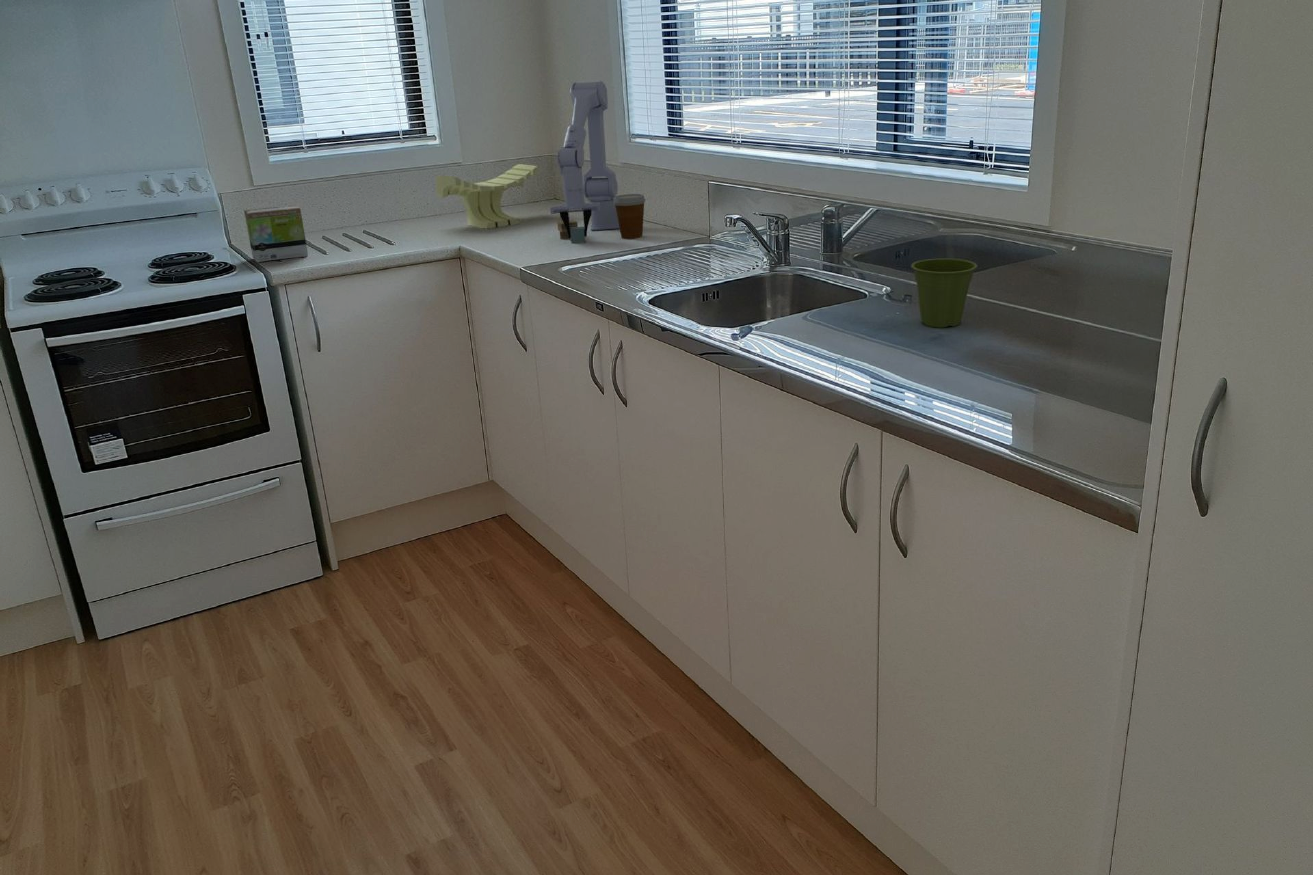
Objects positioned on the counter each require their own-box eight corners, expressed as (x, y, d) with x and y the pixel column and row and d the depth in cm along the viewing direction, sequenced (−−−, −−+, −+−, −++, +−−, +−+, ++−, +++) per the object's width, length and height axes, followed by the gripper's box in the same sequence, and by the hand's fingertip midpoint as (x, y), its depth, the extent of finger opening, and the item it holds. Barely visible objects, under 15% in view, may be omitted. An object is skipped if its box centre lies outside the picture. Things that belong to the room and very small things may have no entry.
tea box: (257, 263, 299) (246, 213, 294) (252, 258, 308) (242, 209, 302) (309, 256, 305) (300, 206, 300) (303, 251, 314) (294, 203, 308)
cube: (585, 240, 302) (583, 226, 301) (585, 242, 298) (583, 228, 297) (571, 241, 302) (570, 227, 301) (571, 243, 298) (570, 229, 297)
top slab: (573, 227, 311) (572, 219, 310) (578, 230, 306) (577, 221, 306) (557, 229, 309) (557, 221, 308) (562, 232, 305) (561, 223, 304)
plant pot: (911, 332, 188) (913, 272, 184) (907, 316, 199) (909, 259, 195) (977, 331, 186) (981, 270, 182) (970, 315, 197) (973, 257, 193)
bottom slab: (577, 236, 311) (576, 228, 310) (577, 239, 307) (576, 230, 306) (560, 237, 311) (560, 229, 310) (560, 240, 306) (559, 232, 305)
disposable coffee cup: (610, 240, 300) (607, 198, 295) (623, 234, 308) (620, 193, 303) (640, 240, 296) (637, 198, 292) (652, 234, 304) (650, 193, 300)
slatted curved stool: (520, 215, 357) (514, 163, 350) (542, 219, 344) (537, 166, 338) (441, 228, 341) (434, 174, 335) (462, 233, 329) (454, 176, 322)
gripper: (548, 193, 291) (553, 241, 296) (598, 190, 291) (602, 237, 296) (549, 190, 297) (553, 236, 302) (598, 187, 298) (602, 233, 303)
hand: (577, 236), depth 300 cm, fingers closed on cube, 4 cm apart
